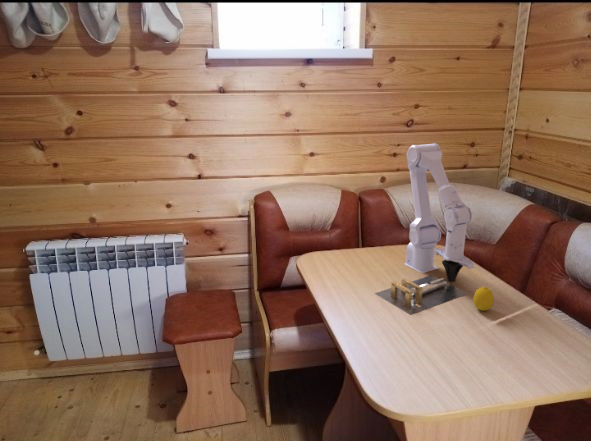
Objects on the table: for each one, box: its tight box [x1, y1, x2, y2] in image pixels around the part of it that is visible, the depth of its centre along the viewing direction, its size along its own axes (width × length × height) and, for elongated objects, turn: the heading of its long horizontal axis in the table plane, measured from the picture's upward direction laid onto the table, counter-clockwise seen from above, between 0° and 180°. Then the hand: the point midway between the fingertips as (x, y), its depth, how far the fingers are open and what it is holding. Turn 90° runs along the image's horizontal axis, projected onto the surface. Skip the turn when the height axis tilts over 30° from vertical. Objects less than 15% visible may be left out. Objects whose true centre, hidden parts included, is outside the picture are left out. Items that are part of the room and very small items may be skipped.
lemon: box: [473, 286, 495, 312], centre depth 139 cm, size 6×6×8 cm
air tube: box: [411, 277, 448, 297], centre depth 151 cm, size 13×3×3 cm, turn 121°
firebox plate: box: [374, 275, 470, 316], centre depth 150 cm, size 16×25×5 cm, turn 121°
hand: (451, 281), depth 157 cm, fingers closed
